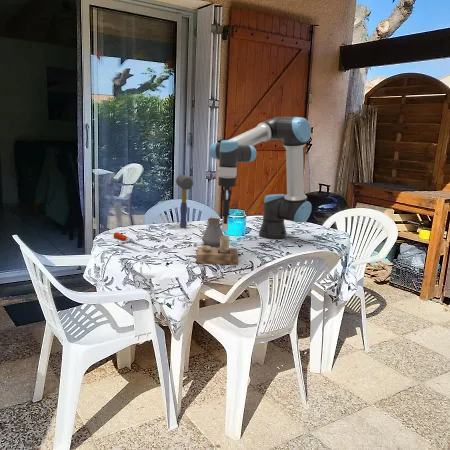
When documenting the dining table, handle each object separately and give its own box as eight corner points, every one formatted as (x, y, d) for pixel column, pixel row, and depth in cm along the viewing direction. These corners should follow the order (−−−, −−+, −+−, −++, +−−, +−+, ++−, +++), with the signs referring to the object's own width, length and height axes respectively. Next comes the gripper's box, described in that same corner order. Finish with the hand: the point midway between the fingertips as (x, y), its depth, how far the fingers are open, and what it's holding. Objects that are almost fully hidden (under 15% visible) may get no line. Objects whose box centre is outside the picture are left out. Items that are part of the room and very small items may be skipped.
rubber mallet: (192, 229, 260) (194, 176, 254) (179, 230, 258) (181, 176, 251) (186, 224, 272) (187, 174, 265) (174, 225, 269) (175, 174, 262)
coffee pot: (198, 242, 235) (199, 213, 231) (219, 240, 239) (220, 212, 236) (213, 253, 215) (214, 222, 212) (235, 252, 220) (237, 221, 216)
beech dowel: (228, 259, 208) (229, 235, 206) (228, 261, 204) (229, 237, 202) (219, 258, 208) (220, 235, 205) (219, 261, 204) (220, 237, 201)
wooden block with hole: (236, 256, 212) (237, 244, 211) (237, 264, 200) (238, 251, 199) (197, 255, 211) (197, 242, 210) (196, 263, 200) (196, 249, 198)
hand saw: (160, 247, 217) (144, 251, 210) (160, 253, 218) (144, 257, 211) (118, 231, 237) (101, 234, 230) (117, 237, 238) (101, 240, 230)
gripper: (218, 174, 204) (216, 226, 209) (218, 178, 191) (216, 233, 196) (235, 175, 204) (232, 227, 209) (236, 179, 191) (233, 234, 197)
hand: (224, 230), depth 203 cm, fingers closed
